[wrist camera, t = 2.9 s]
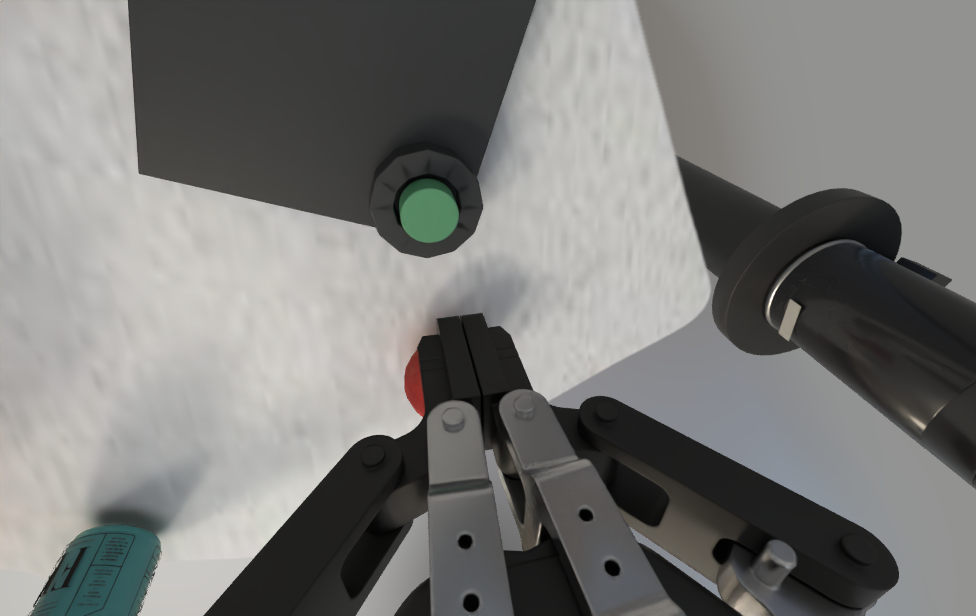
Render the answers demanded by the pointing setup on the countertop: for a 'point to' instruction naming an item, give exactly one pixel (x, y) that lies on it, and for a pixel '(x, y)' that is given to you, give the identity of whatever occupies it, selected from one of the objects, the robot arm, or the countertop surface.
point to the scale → (325, 101)
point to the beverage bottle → (102, 574)
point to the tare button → (428, 210)
